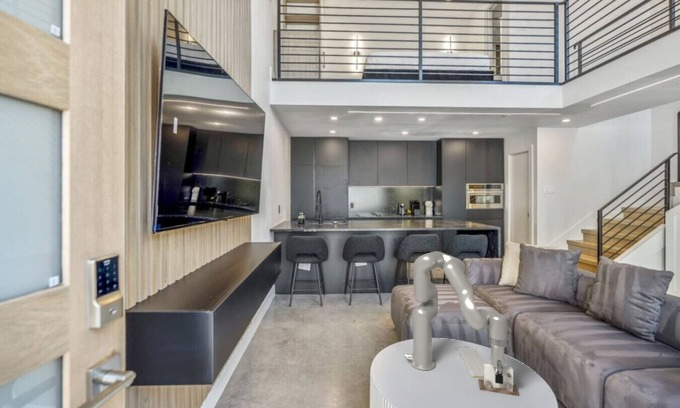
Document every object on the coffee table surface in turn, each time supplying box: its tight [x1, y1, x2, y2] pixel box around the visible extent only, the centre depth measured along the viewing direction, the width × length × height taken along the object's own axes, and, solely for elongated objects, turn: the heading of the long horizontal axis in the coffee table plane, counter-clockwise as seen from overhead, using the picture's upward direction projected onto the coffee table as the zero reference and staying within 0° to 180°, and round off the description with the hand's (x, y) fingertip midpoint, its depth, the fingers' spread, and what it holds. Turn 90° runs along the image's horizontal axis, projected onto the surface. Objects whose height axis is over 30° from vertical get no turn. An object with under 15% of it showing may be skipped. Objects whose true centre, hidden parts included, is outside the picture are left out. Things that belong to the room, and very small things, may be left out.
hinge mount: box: [478, 378, 520, 397], centre depth 157 cm, size 16×8×4 cm, turn 72°
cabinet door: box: [483, 363, 514, 389], centre depth 157 cm, size 12×4×9 cm, turn 72°
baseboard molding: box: [454, 346, 486, 379], centre depth 182 cm, size 31×3×12 cm
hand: (497, 377), depth 157 cm, fingers open, 9 cm apart
